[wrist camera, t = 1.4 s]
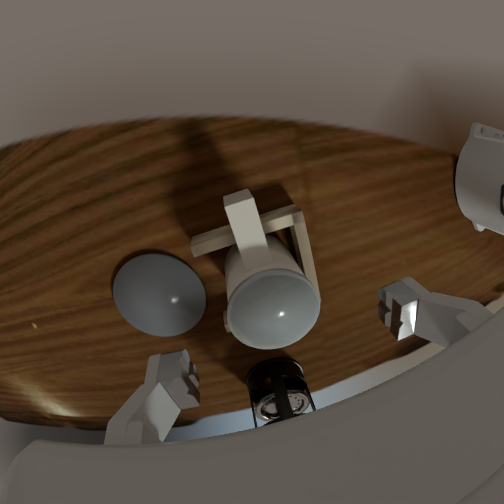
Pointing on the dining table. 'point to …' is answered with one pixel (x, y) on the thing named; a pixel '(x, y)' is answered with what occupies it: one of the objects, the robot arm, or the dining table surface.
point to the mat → (159, 294)
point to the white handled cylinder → (264, 282)
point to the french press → (278, 391)
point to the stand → (270, 223)
